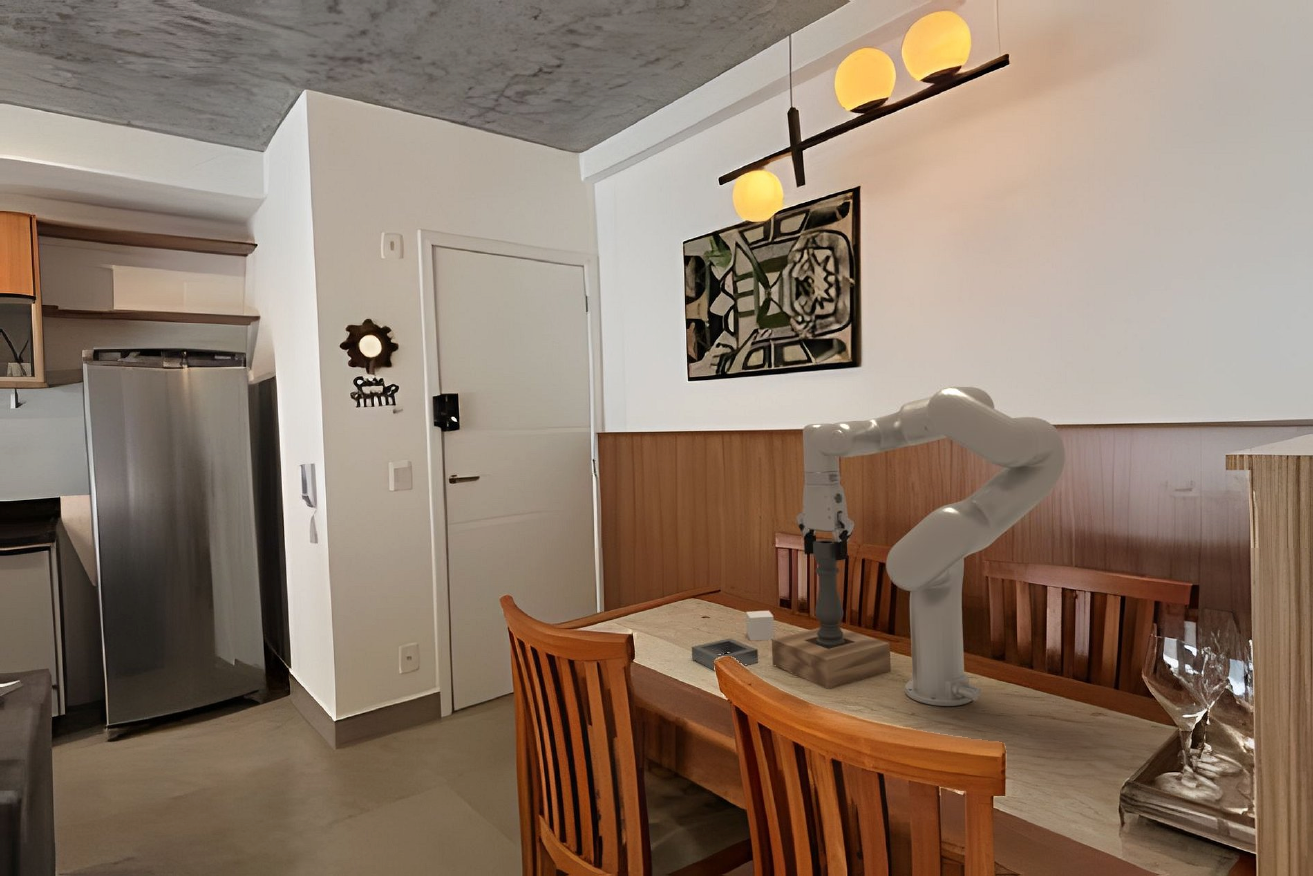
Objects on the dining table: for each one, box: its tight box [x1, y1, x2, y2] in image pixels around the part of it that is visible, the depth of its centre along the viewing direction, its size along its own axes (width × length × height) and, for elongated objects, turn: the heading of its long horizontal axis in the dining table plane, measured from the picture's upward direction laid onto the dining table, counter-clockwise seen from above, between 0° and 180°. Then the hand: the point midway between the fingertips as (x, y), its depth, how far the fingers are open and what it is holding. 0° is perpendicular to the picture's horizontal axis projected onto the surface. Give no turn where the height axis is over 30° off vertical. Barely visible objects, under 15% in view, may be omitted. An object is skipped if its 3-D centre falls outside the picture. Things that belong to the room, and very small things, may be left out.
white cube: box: [745, 610, 775, 642], centre depth 184 cm, size 6×6×6 cm
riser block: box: [771, 627, 892, 689], centre depth 158 cm, size 18×18×6 cm
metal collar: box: [691, 638, 759, 671], centre depth 166 cm, size 11×11×3 cm
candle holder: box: [813, 539, 845, 649], centre depth 158 cm, size 6×6×25 cm
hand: (825, 556), depth 158 cm, fingers open, 9 cm apart
